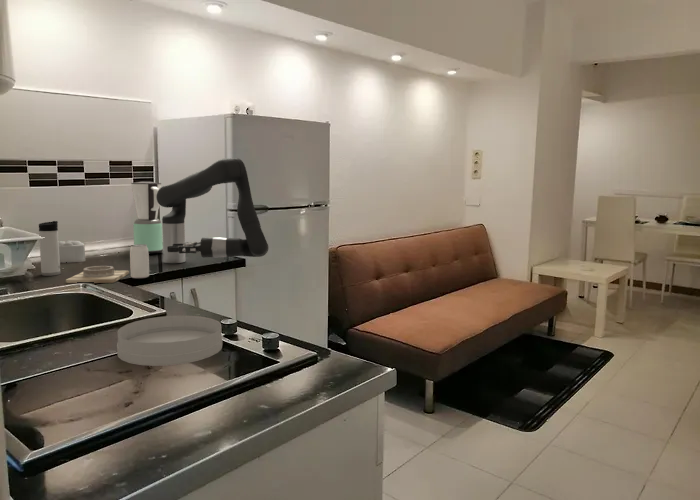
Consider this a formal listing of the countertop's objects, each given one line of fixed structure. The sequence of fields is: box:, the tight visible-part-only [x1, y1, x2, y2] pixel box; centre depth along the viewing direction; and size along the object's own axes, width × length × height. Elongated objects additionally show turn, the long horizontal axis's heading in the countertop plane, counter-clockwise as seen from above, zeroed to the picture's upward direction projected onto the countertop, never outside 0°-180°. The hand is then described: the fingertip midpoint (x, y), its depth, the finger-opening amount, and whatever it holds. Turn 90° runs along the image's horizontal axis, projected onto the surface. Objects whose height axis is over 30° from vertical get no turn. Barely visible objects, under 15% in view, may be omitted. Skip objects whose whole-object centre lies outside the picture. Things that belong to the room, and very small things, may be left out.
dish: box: [116, 315, 223, 367], centre depth 119 cm, size 22×22×5 cm
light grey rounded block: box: [59, 239, 86, 264], centre depth 236 cm, size 10×13×9 cm
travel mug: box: [38, 220, 61, 277], centre depth 203 cm, size 6×7×20 cm
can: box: [129, 244, 150, 279], centre depth 201 cm, size 6×6×12 cm
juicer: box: [130, 180, 163, 255], centre depth 258 cm, size 19×13×35 cm
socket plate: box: [65, 265, 130, 284], centre depth 198 cm, size 18×16×4 cm
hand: (170, 247), depth 201 cm, fingers open, 8 cm apart
